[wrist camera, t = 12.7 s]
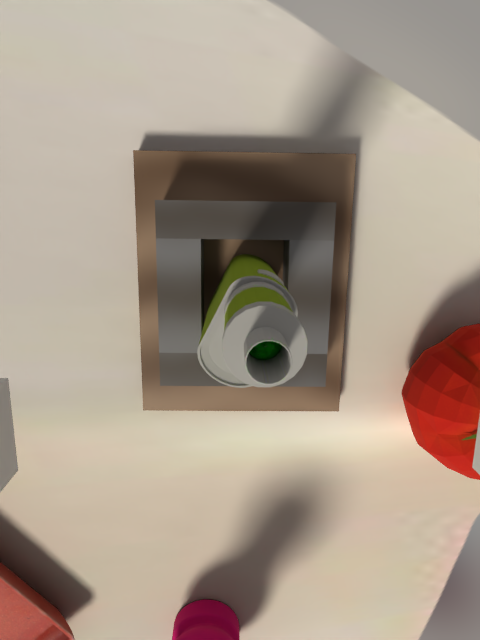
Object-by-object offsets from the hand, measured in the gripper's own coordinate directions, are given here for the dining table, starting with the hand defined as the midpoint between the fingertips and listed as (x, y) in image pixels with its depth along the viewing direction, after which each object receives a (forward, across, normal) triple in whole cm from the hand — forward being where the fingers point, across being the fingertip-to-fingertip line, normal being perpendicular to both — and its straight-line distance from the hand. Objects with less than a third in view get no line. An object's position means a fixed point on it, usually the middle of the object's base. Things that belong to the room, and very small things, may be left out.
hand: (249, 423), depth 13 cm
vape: (+23, -1, 0) cm, 23 cm away
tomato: (+24, -20, +8) cm, 32 cm away
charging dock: (+24, -1, 0) cm, 24 cm away
